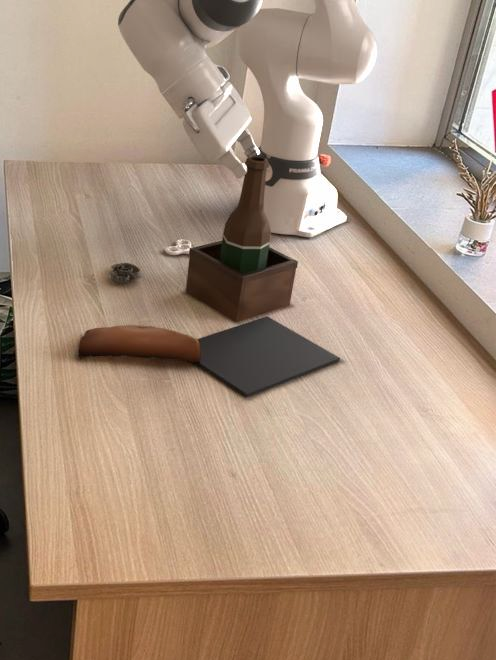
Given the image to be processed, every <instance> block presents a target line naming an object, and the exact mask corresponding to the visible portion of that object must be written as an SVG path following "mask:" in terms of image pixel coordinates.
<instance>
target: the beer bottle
mask: <svg viewBox="0 0 496 660" xmlns="http://www.w3.org/2000/svg"><path fill="white" fill-rule="evenodd" d="M244 164H245V165H246V167H247V168H248V171H247V173H246V174H245V175H244V176H243V182H242V186H241V192H240V197H239V199H238V202H237V206H236V207H235V208H234V209H233V210H232V211H231V212H230V214H229V215H228V217H227V219H226V221H225V223H224V227H223V231H222V239H221V240H222V245H221V253H220V262H222V263H223V264H225V265H227V266H229V267H231V268H233V269H234V270H236V271H238V272H240V273H242V274H245V273H249V272H252V271H256V270H259V269H263V268H266V264H267V257H268V251H269V247H270V245H271V244H270V243H271V234H272V232H271V229H270V224H269V220H268V218H267V216H266V214H265V212H264V193H265V181H266V170H267V168H268V167H269V163H268V160H267V159H266V158H264V157H260V156H251V157H246V160H245V162H244Z"/></svg>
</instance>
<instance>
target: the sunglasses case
mask: <svg viewBox="0 0 496 660" xmlns="http://www.w3.org/2000/svg"><path fill="white" fill-rule="evenodd" d="M198 339H199V338H195V337H193V336H191V335H189V334H185V333H181V332H179V331H176V330H172V329H169V328H163V327H157V326H152V325H151V326H150V325H142V324H141V325H137V324H136V325H135V324H126V325H125V324H124V325H113V326H105V327H94V328H91V329H88V330H86V331H85V332H84V333H83V336H82V337H80V340H79V345H78V350H77V353H78V356H77V357H93V358H94V357H95V358H96V357H98V358H99V357H107V358H108V357H112V358H113V357H114V358H116V357H127V358H137V359H157V360H165V361H166V360H167V361H168V360H169V361H183V362H192V363H193V362H198V363H200V364H201V349H200V344H199V340H198Z"/></svg>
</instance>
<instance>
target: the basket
mask: <svg viewBox="0 0 496 660" xmlns="http://www.w3.org/2000/svg"><path fill="white" fill-rule="evenodd" d="M221 245H222V239H221V240H218V241H213V242H210V243H205V244H202V245H201V244H200V245H198V246H192V247H193V248H190V250H189V254H188V256H189V259H188V266H187V274H186V275H187V276H186V284H185V293H186V294H187V295H189V296H190V297H192V298H193V299H195V300H197V301H199V302H201V303H203V304H204V305H206V306H208V307H209V308H210V309H213V310H214V311H215V312H218V313H219V314H221V315H222V316H224V317H226V318H227V319H229V320H231V321H233V322H234V323H239V322H243V321H245V320H248V319H251V318H254V317H257V316H261V315H263V314H266V313H269V312H273V311H277V310H279V309H282V308H285V307H288V306H290V305H291V299H292V295H293V289H294V284H295V277H296V272H297V269H298V264H299V261H298V260H296V259H294V258H292V257H290V256H288V255H286V254H285V253H282V252H280V251H278V250H276V249H274V248H272V247H271V246H269V251H268V257H267V264H266V268H263V269H259V270H256V271H252V272H249V273H245V274H242V273H240V272H238V271H236V270H234V269H233V268H231V267H229V266H227V265H225V264H223V263H222V262H220V253H221Z"/></svg>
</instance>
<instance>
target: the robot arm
mask: <svg viewBox="0 0 496 660" xmlns="http://www.w3.org/2000/svg"><path fill="white" fill-rule="evenodd" d="M263 1H264V0H129V1H128V3H127V4H126V5H125V6H124V7H123V9H122V11H120V13H119V15H118V18H117V27H118V30H119V32H120V34H121V37H122V38H123V41H124V42H125V45H126V46H127V47H128V49H129V51H130V53H131V54H132V55H133V57H134V58H135V59H136V61H137V62H138V64H139V65H140V67H141V68H142V69H143V71H145V72H146V73H147V74H148V75H150V76H151V77H152V79H153V80H154V81H155V83H156V85H157V88H158V91H159V92H160V94H161V95H162V97H163V98H164V99H165V101H166V102H167V103H168V105H169V106H170V107H171V109H172V111H173V112H174V113H175V115H176V116H177V117H178V119H180V120H181V119H183V120H182V127H183V130H184V131H185V133H186V134H187V136H188V139H190V141H191V142H192V144H193V146H194V148H195V149H196V150H197V152H198V153H199V154H200V156H201V158H202V159H203V160H204V161H205V162H207V163H208V164H213V163H214V162H216V161H218V160H219V161H220V163H221V164H222V165H223V166H224V167H226V168H227V169H229V170H230V171H231V172H232V173H233V175H234V176H235V178H236V179H242V178H244V176H245V174H246V173H247V171H248V168H247V167H246V164H245V162H244V161H243V160H242V161H241V159H239V158H238V156H237V155H236V154H235V151H234V150H233V148H232V146H233V145H234V144H235V142H237V143H239V144H240V146H241V147H242V150H243V151H244V153H243V154H244V155H245V156H246V158H248V157H251V156H260V157H264V158H266V159H267V160H268V163H269V167H268V168H267V170H266V181H265V193H264V212H265V214H266V216H267V218H268V220H269V224H270V229H271V234H278V235H279V234H280V235H288V236H289V235H292V236H297V237H298V236H299V237H303V238H314V237H315V236H317V235H320V234H322V233H324V232H326V231H328V230H330V229H332V228H335V227H336V226H339V225H341V224H343V223H345V222H347V215H346V214H345V213H344V212H343V211H342V210H340V209H339V208H338V207H337V206H338V197H339V195H338V190H337V189H336V187H335V186H334V185H333V184H332V183H331V182H330V181H329V180H328V179H327V178H326V177H325V176H324V175H323V174H322V173H321V165H322V166H324V167H329V166H330V164H331V162H332V158H331V156H330V155H326V154H325V153H320V154H318V151H319V145H320V139H321V135H322V129H323V123H324V118H323V117H324V116H323V112H322V111H321V109H320V107H319V106H318V104H317V103H316V102H314V101H313V100H312V99H311V98H310V97H308V96H307V95H306V94H305V92H304V91H303V89H302V88H301V85H300V82H299V79H303V80H309V81H314V82H319V83H324V84H329V85H356V84H359V83H360V82H362V81H363V80H365V78H367V77H368V75H369V74H370V73H371V71H372V69H373V67H374V65H375V63H376V59H377V54H378V50H377V49H378V48H377V41H376V38H375V36H374V33H373V31H372V29H371V28H370V27H369V26H368V24H366V22H365V21H364V19H363V17H362V16H361V13H360V11H359V9H358V6H357V3H356V0H314V4H315V6H314V8H315V9H314V13H308V12H304V11H303V12H302V11H297V10H292V9H291V10H290V9H285V8H278V7H272V8H271V7H269V8H261V7H262V4H263ZM237 29H238V30H237ZM236 30H237V34H236V48H237V51H238V55H239V57H240V59H241V61H242V63H243V64H244V65H245V66H246V67H247V68H248V69H249V70H250V72H251V73H252V76H254V78H255V80H256V82H257V85H258V87H259V89H260V93H261V96H262V101H263V124H262V134H261V141H260V145H259V147H257V145H256V144H255V141H254V138H253V135H252V134H251V133H252V132H251V131H250V130H249V129H248V126H249V125H250V124H251V122H252V119H253V118H252V116H251V113H250V109H249V108H248V106H247V105H246V103H245V101H244V100H243V98H242V96H241V95H240V93H239V91H237V89H236V87H235V86H234V84H232V83H231V82H230V81H229V80H230V77H231V75H230V73H229V72H228V70H227V69H226V68H225V67H224V66H222V65H218V64H215V63H214V62H213V60H212V59H211V58H210V57H209V55H208V54H207V52H206V50H207V49H209V48H212V47H214V46H216V45H218V44H220V42H222V41H223V40H224V39H226V38H227V37H229V36H230V35H232V33H233V32H234V31H236Z"/></svg>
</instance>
